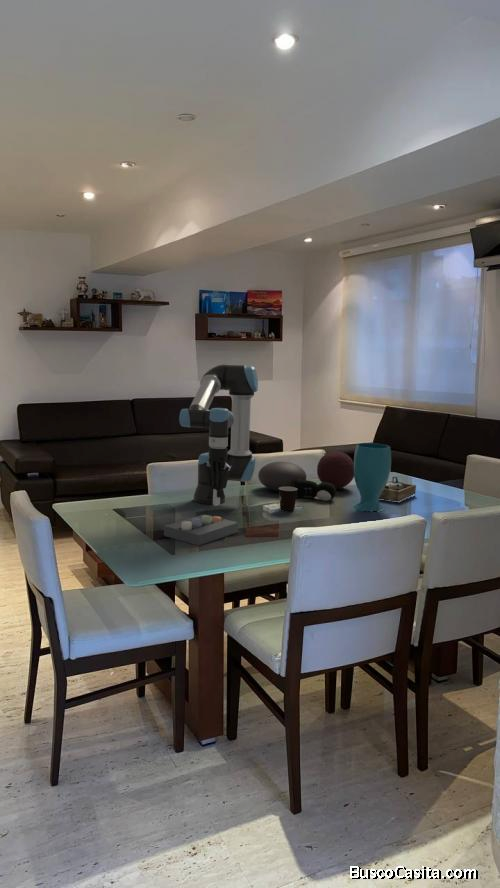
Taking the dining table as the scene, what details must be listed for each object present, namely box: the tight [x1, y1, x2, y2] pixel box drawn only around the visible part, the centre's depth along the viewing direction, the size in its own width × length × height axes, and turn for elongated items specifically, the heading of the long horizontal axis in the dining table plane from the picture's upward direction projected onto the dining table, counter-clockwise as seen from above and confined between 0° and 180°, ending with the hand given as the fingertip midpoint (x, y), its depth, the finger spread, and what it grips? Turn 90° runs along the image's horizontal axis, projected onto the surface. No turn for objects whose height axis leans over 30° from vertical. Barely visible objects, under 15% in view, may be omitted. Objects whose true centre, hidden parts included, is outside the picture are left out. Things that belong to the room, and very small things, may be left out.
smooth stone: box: [257, 460, 307, 492], centre depth 347 cm, size 25×25×15 cm
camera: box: [384, 475, 404, 491], centre depth 343 cm, size 15×8×10 cm, turn 135°
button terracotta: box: [212, 515, 222, 522], centre depth 272 cm, size 4×4×4 cm
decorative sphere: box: [316, 450, 354, 490], centre depth 355 cm, size 20×20×20 cm
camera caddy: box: [379, 480, 417, 501], centre depth 341 cm, size 14×21×6 cm, turn 144°
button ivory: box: [181, 520, 192, 531], centre depth 257 cm, size 4×4×4 cm
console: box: [163, 513, 239, 546], centre depth 265 cm, size 18×24×4 cm
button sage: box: [202, 514, 213, 525], centre depth 267 cm, size 4×4×4 cm
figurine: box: [295, 479, 336, 502], centre depth 332 cm, size 9×9×20 cm
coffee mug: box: [278, 487, 298, 512], centre depth 309 cm, size 12×9×10 cm
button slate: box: [192, 517, 202, 528], centre depth 262 cm, size 4×4×4 cm
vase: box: [352, 442, 392, 512], centre depth 315 cm, size 17×17×30 cm
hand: (216, 504), depth 271 cm, fingers closed
